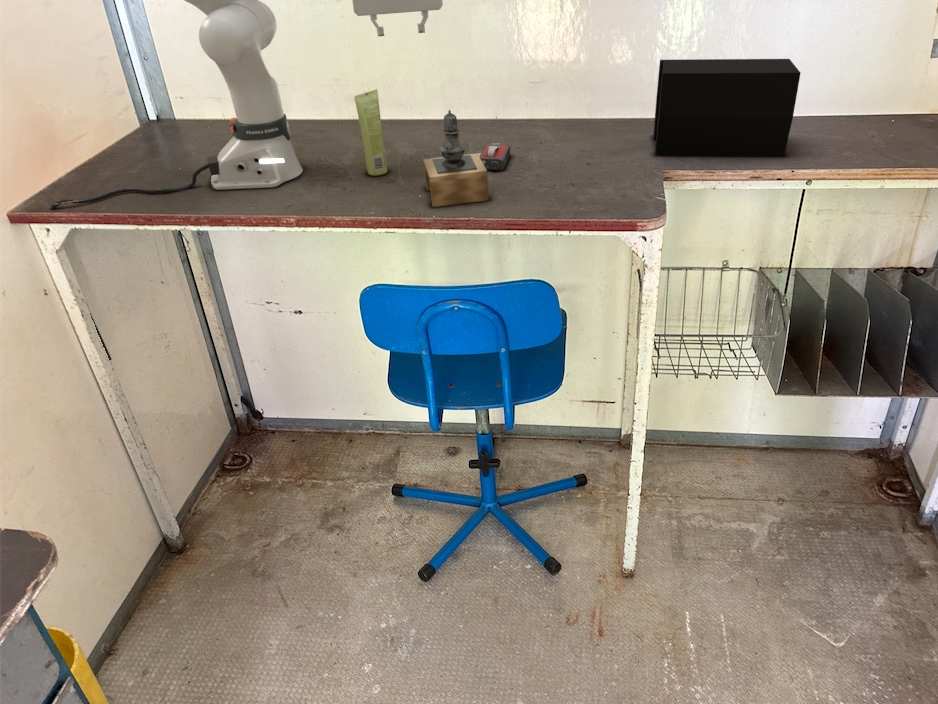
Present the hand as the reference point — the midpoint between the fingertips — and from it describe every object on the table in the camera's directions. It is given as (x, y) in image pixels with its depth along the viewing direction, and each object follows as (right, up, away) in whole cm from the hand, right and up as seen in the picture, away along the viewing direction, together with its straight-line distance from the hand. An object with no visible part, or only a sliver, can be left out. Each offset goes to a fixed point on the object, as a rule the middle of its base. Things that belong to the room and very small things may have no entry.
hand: (401, 34), depth 165 cm
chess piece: (+12, -31, -2) cm, 33 cm away
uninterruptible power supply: (+80, -19, +22) cm, 85 cm away
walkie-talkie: (+20, -26, +16) cm, 36 cm away
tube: (-8, -28, +16) cm, 33 cm away
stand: (+13, -36, +3) cm, 39 cm away
